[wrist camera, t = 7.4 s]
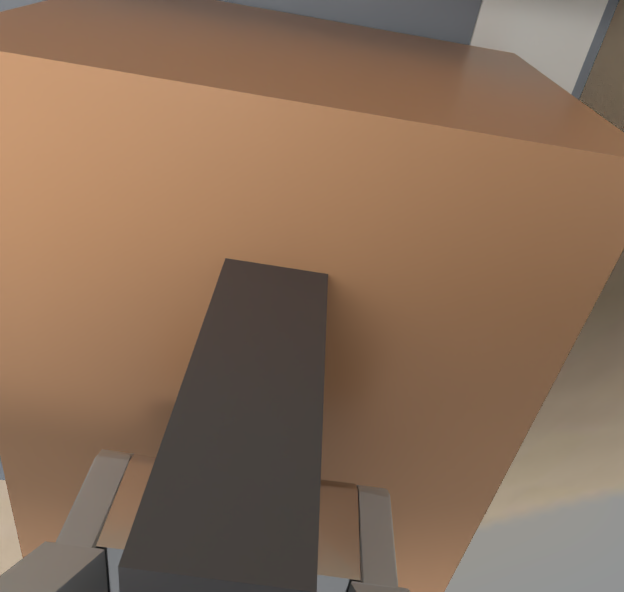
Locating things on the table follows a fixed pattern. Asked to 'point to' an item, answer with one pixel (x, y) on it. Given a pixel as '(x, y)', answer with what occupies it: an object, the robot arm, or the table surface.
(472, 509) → the tan block with handle
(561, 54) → the bay
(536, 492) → the table surface
